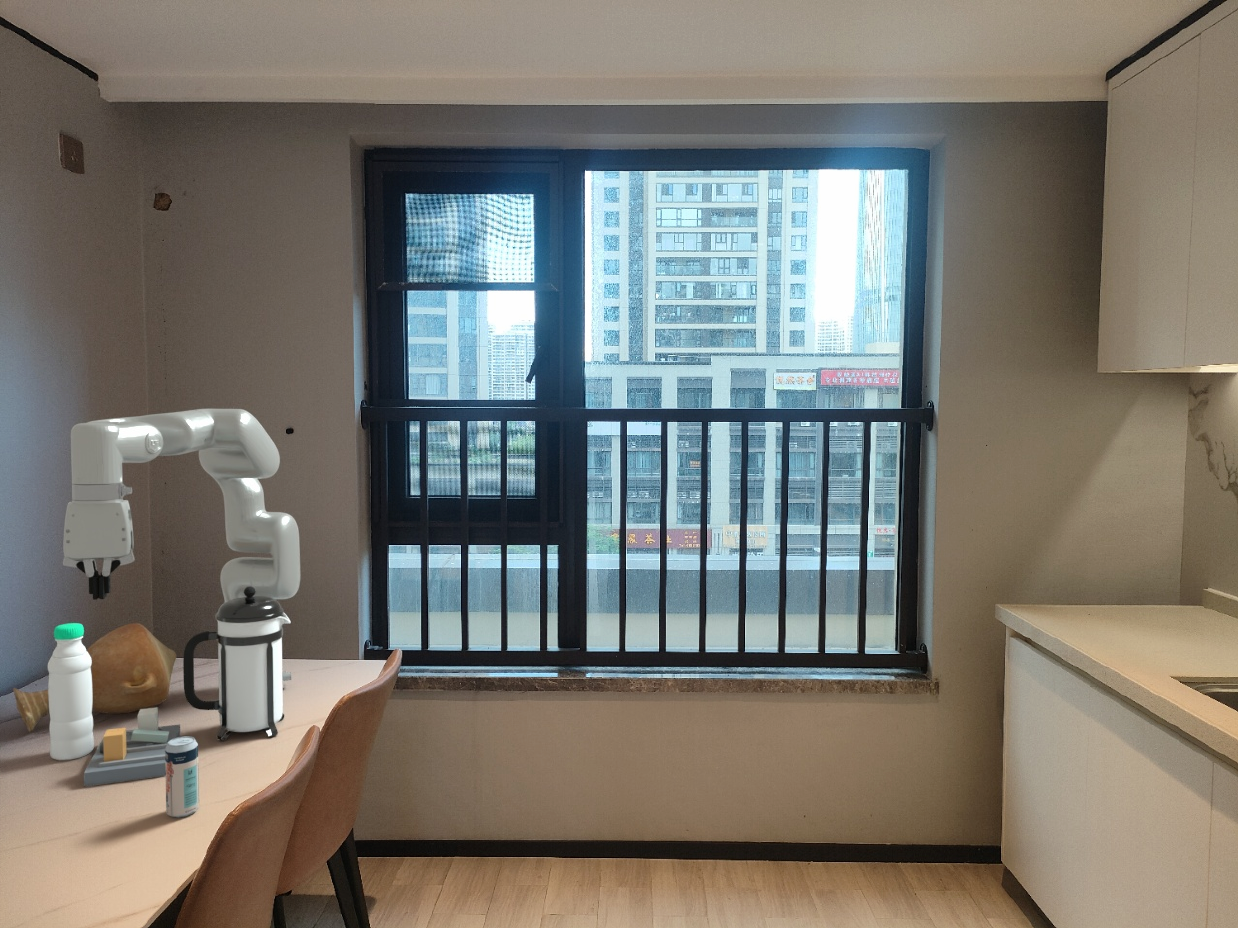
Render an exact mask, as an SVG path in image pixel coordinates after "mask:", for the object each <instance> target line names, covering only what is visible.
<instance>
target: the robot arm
mask: <svg viewBox="0 0 1238 928" xmlns="http://www.w3.org/2000/svg"><path fill="white" fill-rule="evenodd" d="M197 451H198V460H199V462H200V466H201V467H202V469H203V470H204V471H205V472H206V473H207V474H208V475H209V476H210V477H212V479H213V480H215V482H216V483H217V485H218V486H219V487H220V489H221V491H222V495H223V504H224V520H225V521H224V525H225V537H226V543H227V546H228V547H229V548H230V550H232V551H234V552H240V553H254V554H255V553H256V554H257V553H258V554H271V557H262V556H261V557H258V556H257V557H256V556H253V557H252V556H249V557H248V556H242V557H236V558H233V559H231V560H229V561H227V562H225V564H224V565H223V567H222V568H221V571H220V587H221V590H222V595H223V599H224V603H225V602H227V601H229V600H232V599H235V598H240V597H247V596H245V594H244V593H243V592H244V590H245V588H246V587H249V586H251V587H253V588H255V591H256V592H255V595H254V596H264V597H270V598H273V599H275V600H287V599H290V598H293V597H294V596H295V595H296V594H297V592H298V591H299V589H300V583H301V555H300V553H301V551H300V550H301V549H300V547H301V546H300V532H299V527H298V524H297V522H296V519H295V518H294V516H292V515H291V514H289V513H286V512H283V511H281V512H280V511H267V510H266V507H265V496H264V495H265V494H264V489H263V486H262V484H261V482H260V481H259V480H261V479H262V480H263V479H269V478H271V477H273V476H274V475H275V474H276V473H277V472H278V469H279V467H280V464H281V463H280V462H281V460H280V459H281V457H280V452H279V450H278V448H277V446H276V444H275V442H274V441H273V440H272V438H271V437H270V435H269V434H268V433H267V431H266V429H265V428H264V427H263V426H262V424H261V423H260V422H259V421H258V419H257V418H256V417H255V416H254V415H253V414H252V413H250V412H249V411H247V410H245V409H242V408H197V409H189V410H182V411H175V412H165V413H155V414H146V415H140V416H127V417H115V418H106V419H98V420H91V421H88V422H81V423H80V422H79V423H77V424H75V425H73V426H72V428H71V430H70V454H71V455H70V457H71V460H70V462H71V499H72V501H69V502H68V503H67V506H66V511H65V518H64V526H63V539H62V540H63V543H62V547H63V548H62V549H63V551H62V552H63V559H62V565H63V566H64V567H69V568H77V569H79V570H80V571H81V572H82V573H84V574H85V575H86V577H87V578H88V594H89V595H92V600H93V601H97V600H99V599H100V600H105V599H106V597H108V596H107V595H108V594H110V593H111V592H112V591H111V574H112V573H113V572H115V570H116V569H118V567H120V566H125V565H129V564H131V563H133V562H135V560H136V559H135V555H134V552H133V551H134V547H135V546H134V545H135V543H134V530H133V527H134V526H133V519H132V511H131V507H130V503H129V500H128V499H125V500H124V497H126V496H128V495H132V494H133V486H127V485H125V484H124V482H123V464H142V463H148V462H151V461H152V460H155V459H156V458H157V457H164V456H165V457H167V456H179V455H183V454H188V453H192V452H197ZM96 560H103V563H102V570H101V572H100V573H99V571H98V569H97V563H96ZM282 681H283V682H285V681H292V671H288V672H287V670H282Z"/></svg>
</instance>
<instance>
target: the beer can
mask: <svg viewBox="0 0 1238 928" xmlns="http://www.w3.org/2000/svg"><path fill="white" fill-rule="evenodd" d="M165 772H166V776H165V809H166V810H165V812H166V815H168V816H170V817H172V818H185V817H188V816H190V815H193V814H194V813H195V812H196V811H197V810H199V808H200V786H199V784H200V783H199V782H200V781H199V780H200V779H199V778H200V777H199V743H198V742H197V740H196V739H195V737H194V736H188V735H187V736H180V737H178V738H175V739H172V740H170V741H169V742H168V744H167V746H166V748H165Z"/></svg>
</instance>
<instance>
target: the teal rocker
mask: <svg viewBox="0 0 1238 928" xmlns="http://www.w3.org/2000/svg"><path fill="white" fill-rule="evenodd" d="M133 730H134V731H133V733H132V737H131V741H146V742H162V743H166V742H167V740H168V735H169V731H156V730H141V729H138V728H134V729H133Z"/></svg>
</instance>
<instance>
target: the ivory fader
mask: <svg viewBox="0 0 1238 928" xmlns="http://www.w3.org/2000/svg"><path fill="white" fill-rule="evenodd" d="M158 727H159V707H157V706H156V707H149V708H147V709H140V711H138V714H137V729H141V730H156V731H158Z"/></svg>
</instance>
